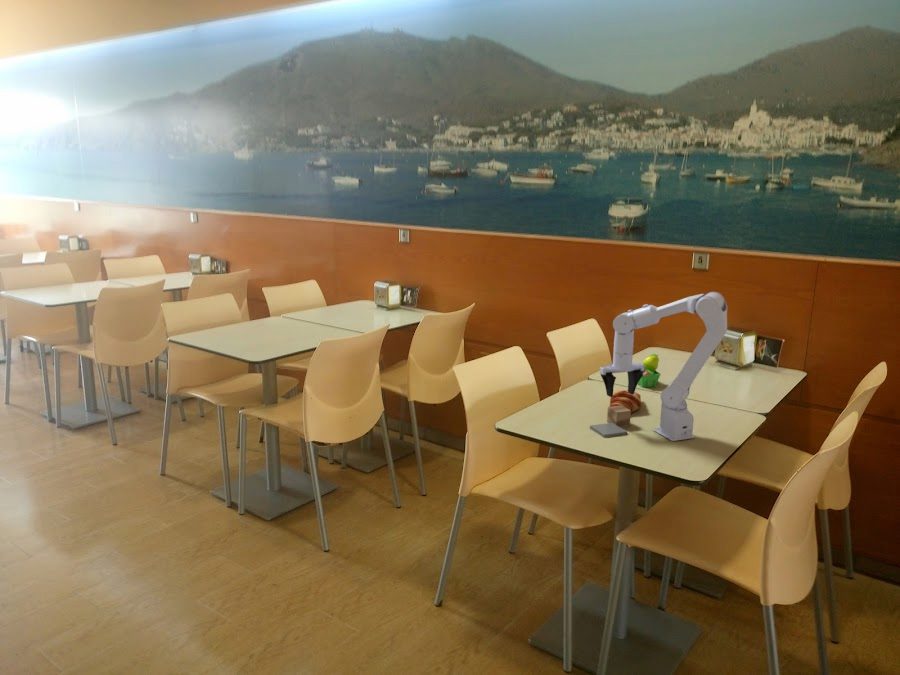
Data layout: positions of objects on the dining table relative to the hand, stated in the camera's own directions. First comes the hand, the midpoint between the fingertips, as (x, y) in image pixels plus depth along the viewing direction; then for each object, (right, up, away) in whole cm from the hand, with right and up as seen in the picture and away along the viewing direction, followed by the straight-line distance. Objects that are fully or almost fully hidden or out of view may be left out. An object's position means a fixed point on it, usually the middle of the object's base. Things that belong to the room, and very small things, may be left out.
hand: (620, 394), depth 211 cm
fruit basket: (+20, 0, +44) cm, 48 cm away
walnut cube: (0, -9, +2) cm, 10 cm away
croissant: (+6, -6, +16) cm, 18 cm away
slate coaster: (-5, -11, -4) cm, 12 cm away
